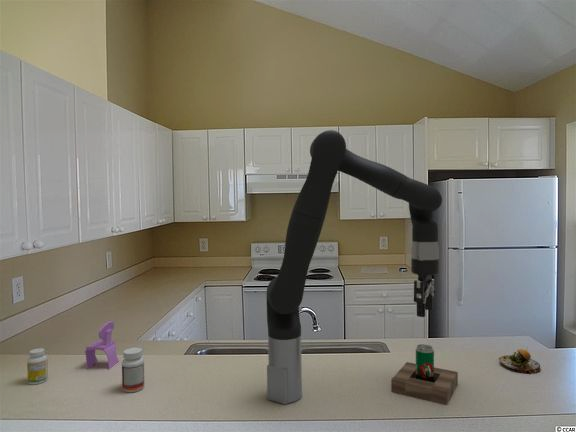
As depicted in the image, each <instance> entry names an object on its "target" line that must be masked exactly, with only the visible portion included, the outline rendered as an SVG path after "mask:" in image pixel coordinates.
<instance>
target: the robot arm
mask: <svg viewBox="0 0 576 432" xmlns="http://www.w3.org/2000/svg"><path fill="white" fill-rule="evenodd" d="M346 143H347V142H346V140H345V138H344V136H343V135H342V134H341V133H340V132H339V131H337V130H333V129H331V130H324V131H323V132H321V133H319V134H317V135H316V136H315V138H314V139H313V141H312V142H311V144H310V146H309V147H310V148H309V154H310V157H311V160H310V165H309V168H308V172H307V176H306V179H305V181H304V183H303V186H302V187H301V189H300V192H299V193H298V195H297V197H296V200H295V202H294V205H293V208H292V211H291V214H290V218H289V220H288V224H287V225H288V226H287V228H286V229H287V230H286V235H285V240H284V242H285V243H284V252H283V253H284V254H283V259H282V262H281V266H280V267H279V268H280V269H279V271H278V274H277V276H275V277H274V278H273V279H272V280H270V281H269V283H268V285H267V288H266V323H267V338H268V339H267V343H268V344H267V345H268V347H267V349H268V350H267V351H268V352H267V353H268V364H267V365H266V391H267V393H266V395H267V400H269V401H273V402H276V403H279V404H283V405H288V404H290V403H295V402H297V401H299V400H300V399H301V398H302V397H303V383H302V382H303V378H302V375H303V373H302V371H303V370H302V325H301V318H300V305H302V301H303V297H304V293H305V286H306V280H307V277H308V271H309V268H310V265H311V261H312V259H313V256H314V254H315V251H316V247H317V244H318V242H319V239H320V236H321V233H322V230H323V226H324V223H325V221H326V220H325V218H326V214H327V211H328V207H329V202H330V199H331V195H332V190H333V185H334V183H335V179H336V176H337V174H338V172H340V173H343V174H345V175H348V176H351V177H353V178H355V179H357V180H358V181H360V182H363V183H365V184H367V185H369V186H371V187H373V188H374V189H377V190H378V191H380V192H382V193H384V194H386V195H387V196H390V197H392V198H394V199H397V200H401V201H405V202H406V203H408V209H409V216H410V221H411V225H412V229H411V240H412V241H411V246H410V247H411V248H410V249H411V251H410V253H411V255H410V256H411V258H410V263H411V266H410V269H411V270H410V271H411V273H412V274H414V275H417V279H416V280H414V281H413V302H414V303H416V316H417V317H418V318H419V317H420V318H425V317H426V311H433V308H434V307H433V306H434V296H435V294H436V275H438V274H439V273H440V265H439V264H440V247H439V242H438V241H439V226H438V224H437V221H435V220H434V215H433V212H435V211H437V210H438V209H439V208H440V207H441V205H442V202H443V196H442V194H441V192H440V191H439V190H438V189H436V188H435V187H433V186H431V185H429V184H428V183H427V184H426V183H424V182H422V181H419V180H416V179H414V178H411V177H409V176H407V175H405V174H404V173H401V172H399V171H398V170H396V169H394V168H392V167H390V166H387V165H385V164H383V163H379V162H376V161H373V160H371V159H367V158H365V157H362V156H360V155H358V154H355V153H354V152H352V151H351V150H349V149H348V148H347V144H346Z"/></svg>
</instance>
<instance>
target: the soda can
mask: <svg viewBox="0 0 576 432" xmlns="http://www.w3.org/2000/svg"><path fill="white" fill-rule="evenodd" d="M415 364H416V379H419V380H424V381H429V382H433V383H434V367H435V351H434V347H433V346H432V345H430V344H427V343H426V344H425V343H421V344H417V346H416V348H415Z"/></svg>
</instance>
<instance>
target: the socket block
mask: <svg viewBox="0 0 576 432" xmlns="http://www.w3.org/2000/svg"><path fill="white" fill-rule="evenodd" d="M458 373H459V372H458V371H455V370H449V369H444V368H439V367H435V366H434V383H433V382H429V381H424V380H419V379H416V363H414V362H409V361H406V362H405V363H404V364H403V366H402V367H401V368H400V369H399V370H398V371H397V372H396V373H395V375H394V376H393V377H392V378H391V379H390V380H391V381H390V383H391V384H390V385H391V387H390V388H391V391H390V392H391V393H396V394H400V395H404V396H408V397H413V398H417V399H420V400H425V401H430V402H433V403H438V404H442V405H444V406H445V405H446V406H447V405H448V403H449V402H450V399H451V397H452V395H453V393H454V392H455V389H456V388H457V386H458V382H459V381H458V380H459V379H458V378H459V377H458V375H459V374H458Z"/></svg>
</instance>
